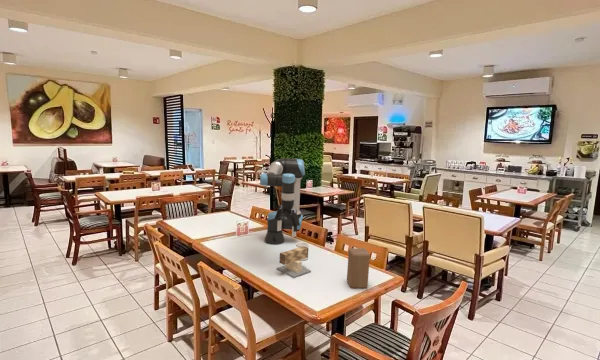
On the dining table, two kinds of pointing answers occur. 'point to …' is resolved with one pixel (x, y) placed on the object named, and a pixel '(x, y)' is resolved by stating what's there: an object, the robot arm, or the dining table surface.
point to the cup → (302, 244)
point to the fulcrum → (294, 269)
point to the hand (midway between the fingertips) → (286, 233)
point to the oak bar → (293, 255)
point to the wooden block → (358, 268)
